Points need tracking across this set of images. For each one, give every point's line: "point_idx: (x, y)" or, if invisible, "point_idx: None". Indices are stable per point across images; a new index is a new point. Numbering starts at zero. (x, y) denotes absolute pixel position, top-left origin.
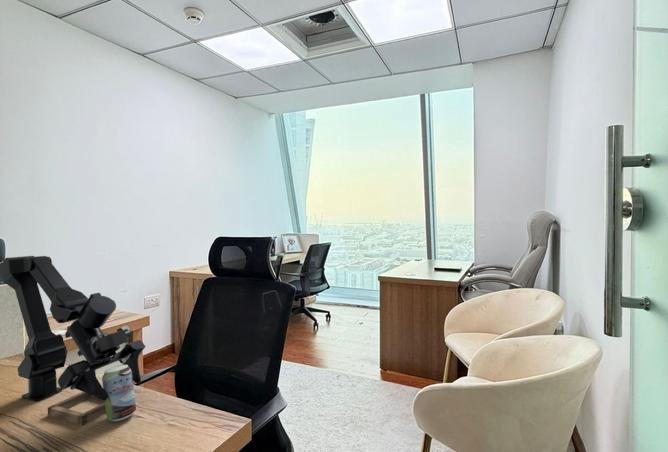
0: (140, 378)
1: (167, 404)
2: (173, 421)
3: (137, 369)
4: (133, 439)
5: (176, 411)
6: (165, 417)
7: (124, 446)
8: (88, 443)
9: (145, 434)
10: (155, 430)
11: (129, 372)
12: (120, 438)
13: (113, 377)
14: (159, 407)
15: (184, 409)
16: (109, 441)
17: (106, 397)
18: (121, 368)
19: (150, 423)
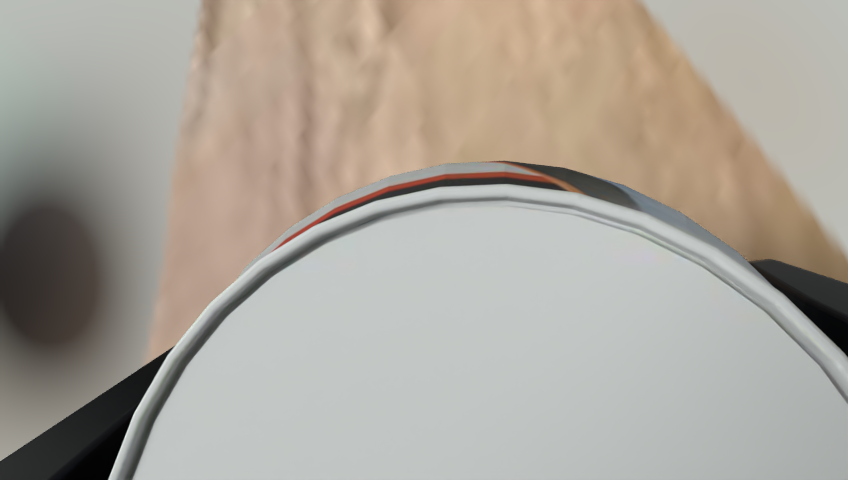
0: (175, 345)
1: (217, 232)
2: (360, 28)
3: (37, 452)
4: (599, 55)
5: (268, 104)
6: (347, 102)
7: (669, 36)
8: (806, 258)
9: (529, 43)
10: (473, 32)
11: (336, 201)
12: (640, 128)
13: (738, 255)
14: (268, 246)
15: (233, 83)
16: (700, 156)
17: (769, 259)
18: (444, 312)
19: (436, 120)
